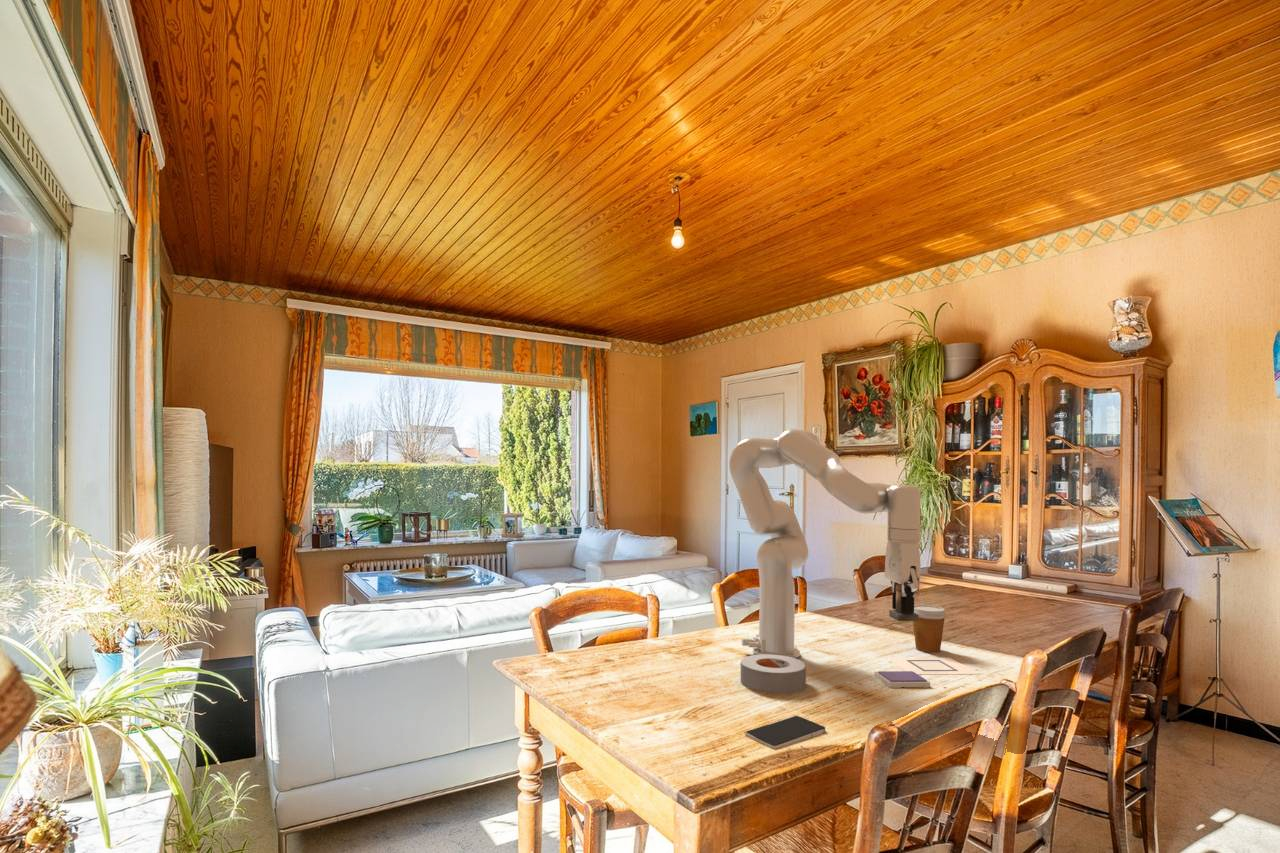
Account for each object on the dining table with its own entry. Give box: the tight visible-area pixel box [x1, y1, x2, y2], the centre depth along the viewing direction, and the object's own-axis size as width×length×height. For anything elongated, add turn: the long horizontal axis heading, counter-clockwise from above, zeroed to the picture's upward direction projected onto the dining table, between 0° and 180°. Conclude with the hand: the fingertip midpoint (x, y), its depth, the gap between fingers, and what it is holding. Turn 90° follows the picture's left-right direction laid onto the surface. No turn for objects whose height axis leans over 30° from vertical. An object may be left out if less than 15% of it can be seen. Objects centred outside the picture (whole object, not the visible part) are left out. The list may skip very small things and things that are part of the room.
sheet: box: [886, 657, 980, 676], centre depth 180 cm, size 18×14×1 cm
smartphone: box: [744, 715, 826, 750], centre depth 134 cm, size 8×1×15 cm
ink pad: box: [874, 670, 931, 689], centre depth 167 cm, size 10×8×2 cm
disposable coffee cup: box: [912, 604, 947, 654], centre depth 196 cm, size 10×10×12 cm
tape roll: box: [740, 654, 807, 695], centre depth 164 cm, size 15×15×5 cm
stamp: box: [888, 581, 918, 622], centre depth 168 cm, size 5×5×9 cm
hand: (903, 610), depth 168 cm, fingers closed on stamp, 3 cm apart
